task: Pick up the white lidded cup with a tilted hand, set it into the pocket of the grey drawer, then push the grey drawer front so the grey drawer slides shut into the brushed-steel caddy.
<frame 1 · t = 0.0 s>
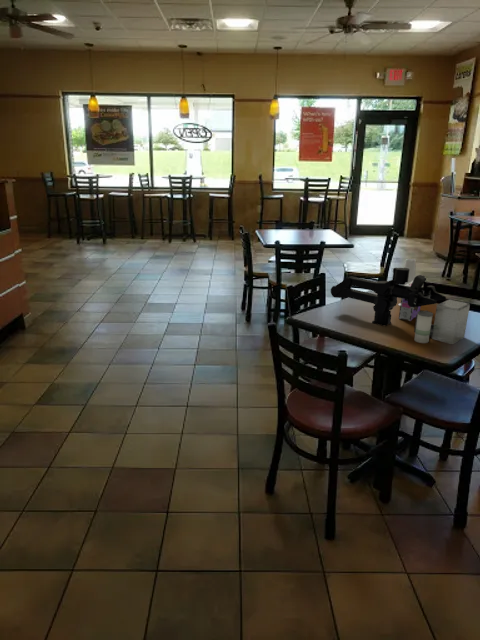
hand: (441, 300, 198), 17 cm above the table, tool horizontal, fingers open, 9 cm apart
cup: (421, 340, 199), on the table
caddy: (438, 335, 206), on the table
candy box: (409, 317, 230), on the table
champagne flute: (404, 305, 249), on the table
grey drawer: (428, 323, 207), point 4 cm above the table, slide at 7.5 cm
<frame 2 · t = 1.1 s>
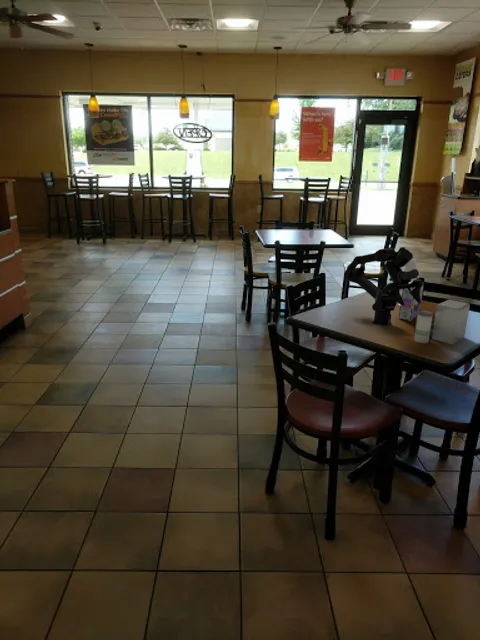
hand: (411, 304, 202), 14 cm above the table, tool tilted 45°, fingers open, 9 cm apart
nothing on the table moved.
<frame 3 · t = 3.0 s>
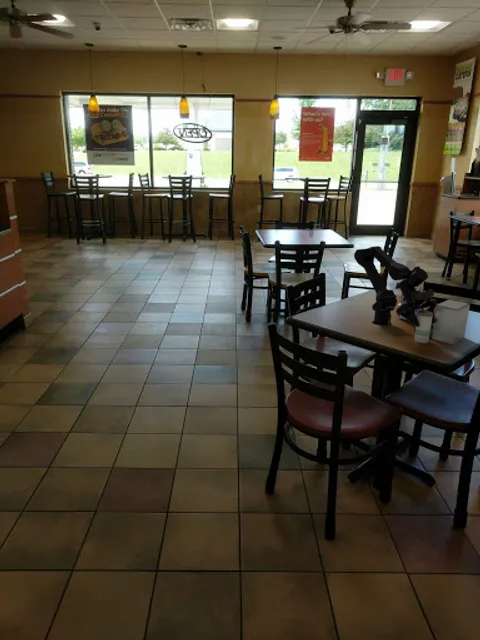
hand: (426, 325, 196), 7 cm above the table, tool tilted 45°, fingers open, 8 cm apart
nothing on the table moved.
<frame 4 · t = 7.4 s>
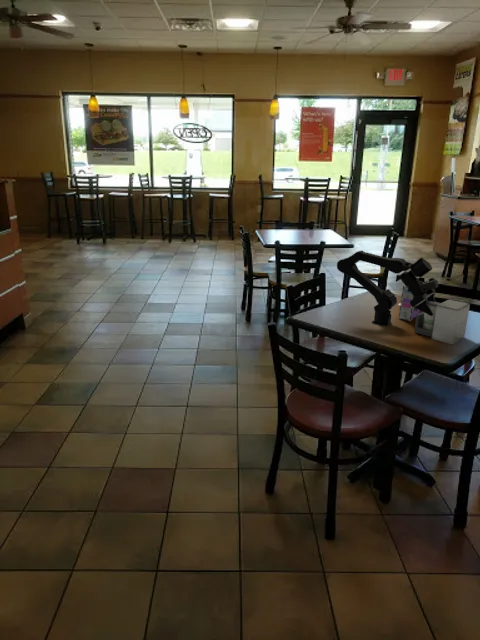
hand: (435, 312, 205), 10 cm above the table, tool tilted 45°, fingers open, 9 cm apart
cup: (429, 330, 208), point 1 cm above the table, touching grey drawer
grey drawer: (428, 323, 207), point 4 cm above the table, slide at 7.5 cm, touching cup
everything else where it was.
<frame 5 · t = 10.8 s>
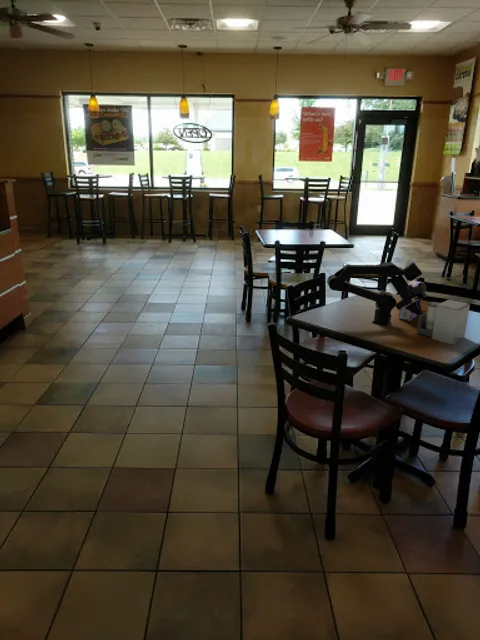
hand: (422, 316, 209), 7 cm above the table, tool tilted 45°, fingers closed
cup: (431, 331, 207), point 1 cm above the table, touching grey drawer
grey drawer: (431, 324, 207), point 4 cm above the table, slide at 6.3 cm, touching cup, gripper
everything else where it was.
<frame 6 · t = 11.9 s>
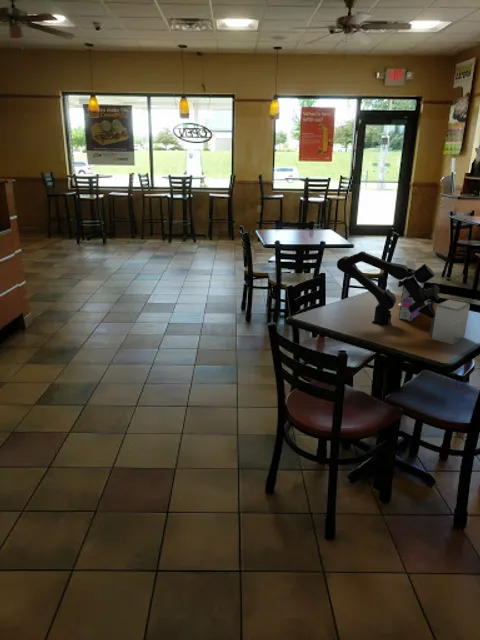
hand: (435, 319, 205), 7 cm above the table, tool tilted 45°, fingers closed, pressing on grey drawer
cup: (444, 334, 204), point 1 cm above the table, touching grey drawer
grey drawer: (444, 327, 203), point 4 cm above the table, slide at 0.6 cm, touching cup, gripper
everything else where it was.
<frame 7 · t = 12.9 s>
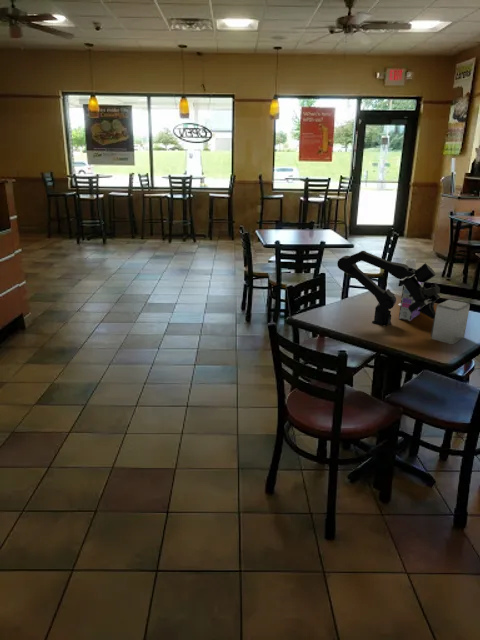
hand: (435, 319, 205), 7 cm above the table, tool tilted 45°, fingers closed
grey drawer: (446, 327, 202), point 4 cm above the table, slide at 0.0 cm, touching cup
everything else where it was.
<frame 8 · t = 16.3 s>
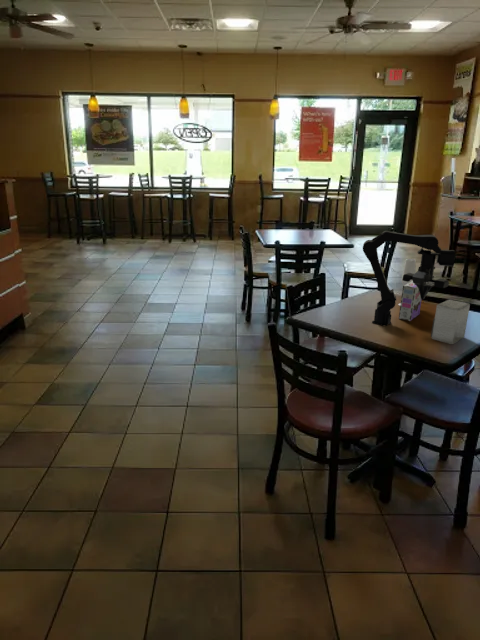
hand: (422, 299, 212), 13 cm above the table, tool pointing down, fingers closed
nothing on the table moved.
at the end: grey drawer slide at 0.0 cm; cup inside the target area on the caddy (1.0 cm from its centre), point 1.2 cm above the caddy's base; cup tilted 0° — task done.
